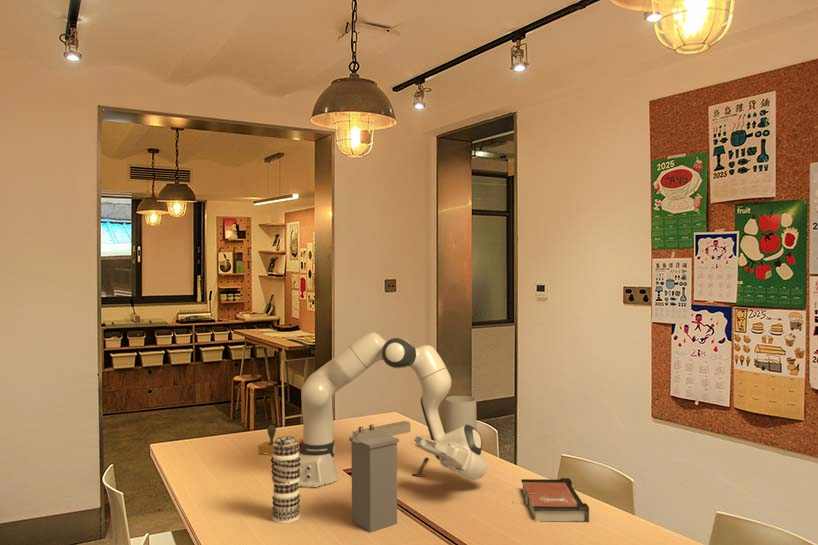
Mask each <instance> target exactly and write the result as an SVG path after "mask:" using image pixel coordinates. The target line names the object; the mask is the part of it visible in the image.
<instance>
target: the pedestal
mask: <svg viewBox="0 0 818 545" xmlns="http://www.w3.org/2000/svg"><path fill="white" fill-rule="evenodd" d="M348 438H349V439H348V440H349V442H350V443H351V447H350V448H351V522H352V523H353V524H355V525H357V526H359V527H361V528H362V529H363V530H366V531H367V532H369V533H373V532H375V531H379V530H382V529H385V528H388V527H391V526H394V525H396V524H398V443H400V438H398V437H394V436H390V437H385V438H381V439H376V440H372V441H367V442H362V443H356V442H353V436H350V437H348Z"/></svg>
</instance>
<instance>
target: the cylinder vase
mask: <svg viewBox="0 0 818 545" xmlns="http://www.w3.org/2000/svg"><path fill="white" fill-rule="evenodd" d="M464 425H471V426H473V427H474V428H475V429H476V430H477V428H478V427H477V398H476V397H473V396H467V395H451V396H448V397H445V433H446V434H447V433H449V432H451V431H454V430H455V429H457V428H460V427H462V426H464ZM477 431H478V430H477Z"/></svg>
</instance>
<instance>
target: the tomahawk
mask: <svg viewBox="0 0 818 545" xmlns="http://www.w3.org/2000/svg"><path fill="white" fill-rule="evenodd" d="M429 461H430V458H429V457H427V456H426V457H425V458H424V459H423V462H422V464H421V466H420V468H419V469H418V471H417V472H416V473H412V475H411V476H412V477H418V478H425V476H426V475H427V474H423V473H422V472H423V470H424V469H425V467H426V466H427V464H428V462H429Z"/></svg>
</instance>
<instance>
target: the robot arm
mask: <svg viewBox="0 0 818 545" xmlns="http://www.w3.org/2000/svg"><path fill="white" fill-rule="evenodd" d="M379 361H384V363H385V364H386V365H387V366H389V367H390V368H392V369H403V368H406V367H410V368H411V369H412V370H413V371H414V373H415V375H416V376H417V379H418V381H419V383H420V386H421V390H422V395H421V397H420V405H421V409H422V414H423V417H424V419H425V423H426V426H427V429H428V432H429V436H430V438H427V437H423V436H420V435H418V436H417V435H416V436H415V437H414V439H413V441H414V442H415V443H414V444H415V447H417V448H419V449H421V450H423V451H425V452H427V453H430V454H432V455H434V456H435V458H436V459H437V460H438V461H439V463H440V465H441V466H442V467H444V468H446V469H448V470H450V471H451V472H456V473H457V474H459V475H460V476H462V477H463V478H466V479H468V480H469V479H470V480H472V481H473V480H479V479H482V478H483V477H484V476H485V475H486V473H487V471H488V462H487V460H486V459H485V458H484V456H483V453H482V448H483V439H482V434H481V433H480V432H479V431H478V430H476V429H475V428H474V427H473V426H471V425H464V426H462V427H460V428H457V429H455V430H454V431H451V432H449V433H447V434H446V431H444V427H443V424H442V420H441V417H440V413H439V406H440V404H441V403H442V401H443V400H444V399H446V396H447V395H448V394H449V392H450V390H451V387H452V382H453V381H452V377H451V374H450V372H449V371H448V369H447V366H446V364H445V362H444V360H443V359H442V358H441V356H440V354H439V353H438V351H437V350H436V349H435V347H433V346H432V345H430V344H429V345H428V344H424V345H420V346H418V347H415V346H413V344H411V343H410V342H409V341H408V340H407V339H404V338H400V337H393V338H390V339H387V340H386V339H384V337H383V336H381V334H379V333H376V332H374V331H373V332H368V333H366V334H365V335H363V336H361V337H359V338H358V339H356V340H354V341H353V342H352V343H350V345H348V346H347V347H346V348H345V349H343V350H341V352H339V353H338V354H337V355H336V356H335V357H333V358H332V359H330V360H329V361H328V362H326V363H325V364H323V365H322V366H321V367H320V368H318V369H317V370H316V371H314V372H312V373H311V374H310V375H309V376H308V377H307V379H306V380H305V382H304V384H303V385H302V387H301V390H300V392H301V393H300V394H301V396H300V397H301V399H300V400H301V410H302V420H303V421H302V422H303V424H302V429H303V430H302V432H303V436H302V437H303V439H299V440H298V442H299V443H298V457H299V458H301V460H300V461H298V462H300V463H301V465H300V466H298V468H299V469H300V472H299V474H300V476H299V481H298V486H308V487H307V488H309V487H317V488H319V487H318V486H320V485H322V486H325V485H324V484H326V485H329V483H330V484H332V483H335V482H336V481H338V478H339V476H338V474H337V473H338V472H337V468H336V464H335V454H336V443H335V439H334V413H333V395H334V394H336V393H337V392H338V391H340V390H341V389H343V388H344V387H345V386H346V385H348V384H350V383H351V382H353V381H354V380H355V379H357V378H358V377H360V375H362V374H363V373H364V372H366V371H367V370H368V369H369V368H370V367H372V366H373V365H374V364H376V363H378V362H379ZM334 481H335V482H334ZM320 487H321V486H320Z"/></svg>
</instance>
